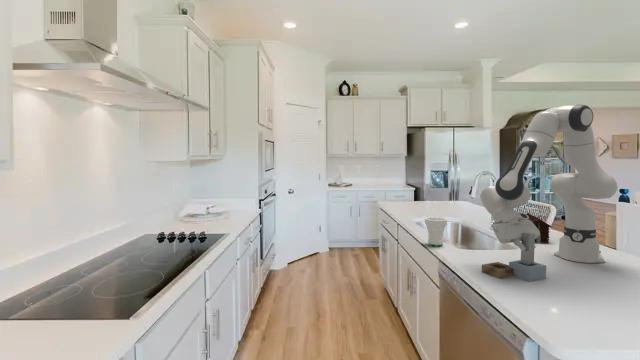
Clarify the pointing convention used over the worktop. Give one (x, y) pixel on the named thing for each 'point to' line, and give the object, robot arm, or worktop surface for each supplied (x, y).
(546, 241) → the model building
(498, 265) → the socket block
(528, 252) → the tall brushed metal pillar
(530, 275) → the block
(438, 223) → the cup
